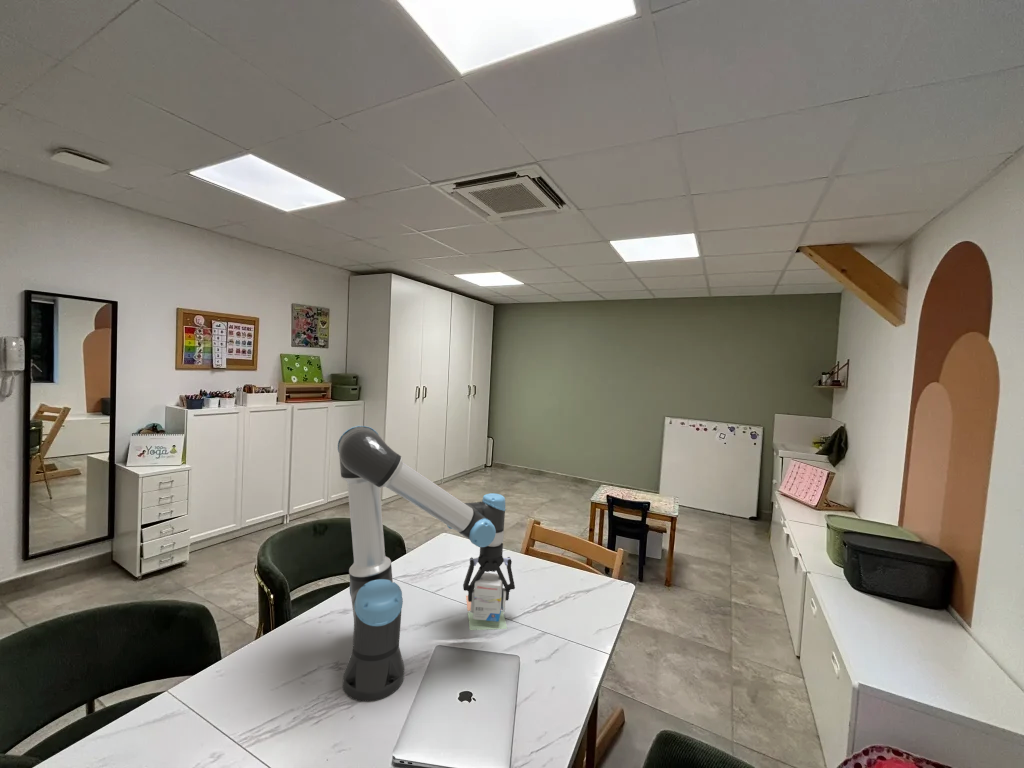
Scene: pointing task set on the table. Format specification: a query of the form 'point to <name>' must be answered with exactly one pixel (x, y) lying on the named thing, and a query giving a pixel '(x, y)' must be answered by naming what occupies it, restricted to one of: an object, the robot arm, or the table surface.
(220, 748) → the table surface
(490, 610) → the ink box
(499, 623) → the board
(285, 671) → the table surface
